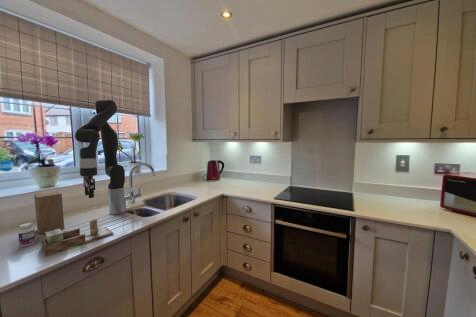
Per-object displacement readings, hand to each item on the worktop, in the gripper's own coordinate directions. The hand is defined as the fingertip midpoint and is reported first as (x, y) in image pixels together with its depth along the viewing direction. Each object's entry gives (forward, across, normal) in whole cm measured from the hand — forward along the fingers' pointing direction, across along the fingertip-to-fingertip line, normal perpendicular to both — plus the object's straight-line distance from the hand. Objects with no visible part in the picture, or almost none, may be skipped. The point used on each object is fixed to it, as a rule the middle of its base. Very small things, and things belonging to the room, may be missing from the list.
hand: (89, 196), depth 110 cm
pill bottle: (+20, +5, +24) cm, 31 cm away
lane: (+20, -9, +6) cm, 22 cm away
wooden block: (+20, +19, +14) cm, 31 cm away
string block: (+18, -9, +8) cm, 22 cm away
